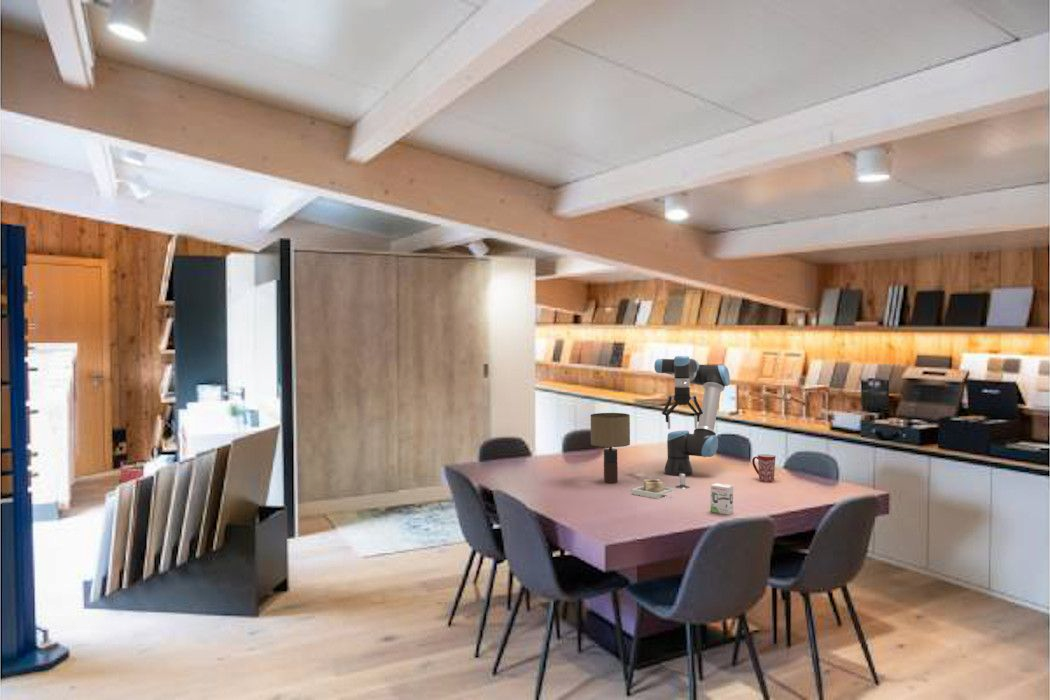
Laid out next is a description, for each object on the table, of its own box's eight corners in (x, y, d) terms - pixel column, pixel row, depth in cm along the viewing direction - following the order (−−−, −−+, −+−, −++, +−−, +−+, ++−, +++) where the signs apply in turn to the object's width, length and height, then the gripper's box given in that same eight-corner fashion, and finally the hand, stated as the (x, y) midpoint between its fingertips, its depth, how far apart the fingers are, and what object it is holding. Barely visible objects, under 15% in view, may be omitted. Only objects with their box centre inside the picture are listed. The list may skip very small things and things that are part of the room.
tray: (631, 494, 344) (631, 489, 344) (649, 488, 354) (649, 484, 354) (657, 498, 333) (657, 493, 333) (675, 493, 344) (675, 488, 344)
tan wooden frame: (646, 493, 340) (646, 483, 340) (643, 489, 349) (643, 479, 349) (663, 493, 340) (663, 482, 340) (659, 489, 349) (659, 478, 349)
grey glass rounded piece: (672, 490, 351) (672, 473, 351) (680, 487, 356) (680, 471, 356) (684, 492, 346) (684, 475, 346) (692, 489, 351) (692, 473, 351)
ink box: (710, 511, 308) (709, 484, 308) (715, 509, 312) (715, 482, 311) (728, 515, 302) (728, 487, 302) (733, 512, 306) (733, 485, 306)
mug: (779, 481, 368) (779, 455, 368) (769, 483, 363) (769, 457, 363) (758, 477, 379) (758, 451, 378) (748, 479, 373) (747, 453, 373)
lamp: (593, 477, 384) (592, 412, 383) (631, 478, 380) (630, 413, 379) (589, 485, 364) (588, 417, 363) (629, 486, 360) (628, 417, 359)
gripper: (658, 387, 357) (659, 429, 358) (708, 386, 357) (709, 429, 358) (656, 386, 365) (656, 427, 365) (704, 385, 365) (705, 427, 365)
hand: (682, 428), depth 361 cm, fingers open, 13 cm apart
